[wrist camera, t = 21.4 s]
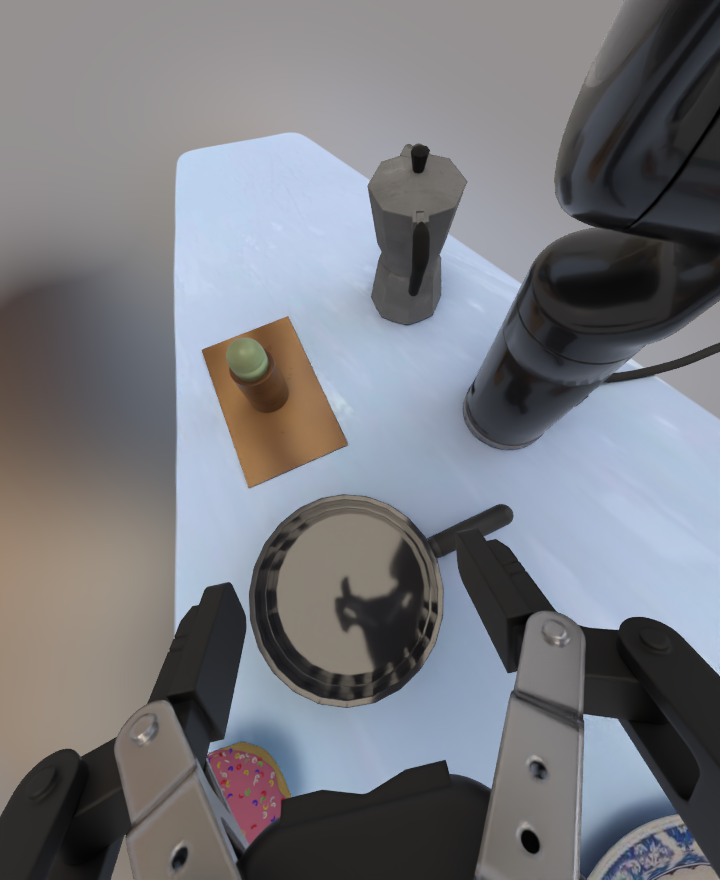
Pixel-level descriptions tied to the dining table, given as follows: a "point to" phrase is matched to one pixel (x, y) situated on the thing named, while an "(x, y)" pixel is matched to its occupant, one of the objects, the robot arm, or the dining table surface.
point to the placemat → (283, 431)
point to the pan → (346, 601)
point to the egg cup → (256, 375)
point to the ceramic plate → (655, 855)
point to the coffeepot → (412, 230)
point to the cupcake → (250, 785)
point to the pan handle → (483, 521)
